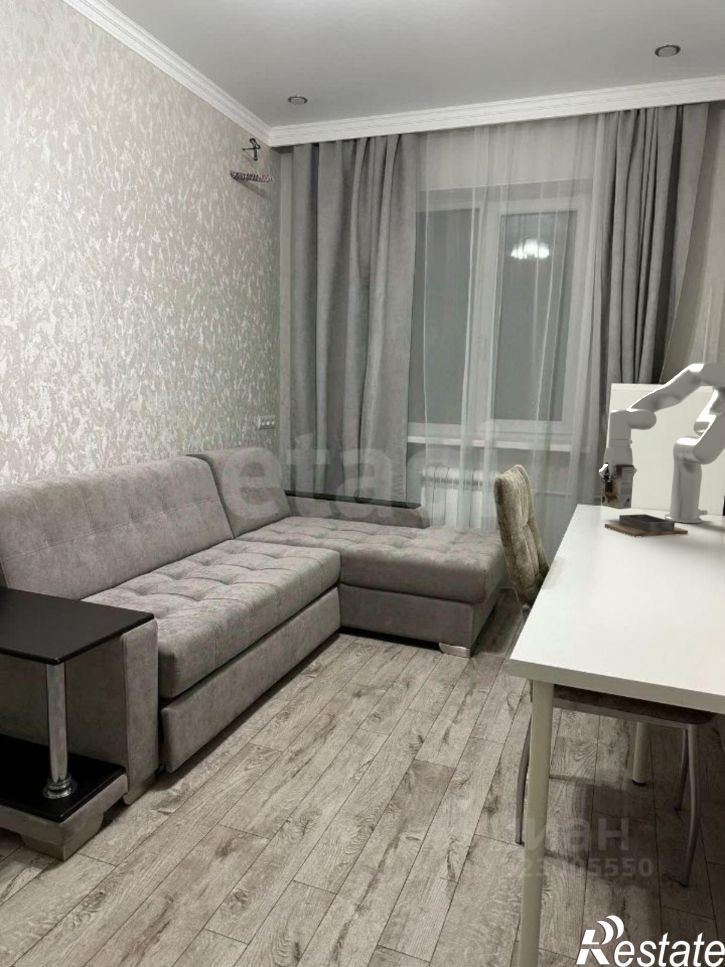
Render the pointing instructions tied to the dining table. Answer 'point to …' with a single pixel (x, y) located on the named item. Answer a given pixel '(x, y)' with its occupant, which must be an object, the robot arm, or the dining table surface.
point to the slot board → (645, 526)
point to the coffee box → (619, 488)
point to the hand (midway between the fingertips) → (616, 491)
